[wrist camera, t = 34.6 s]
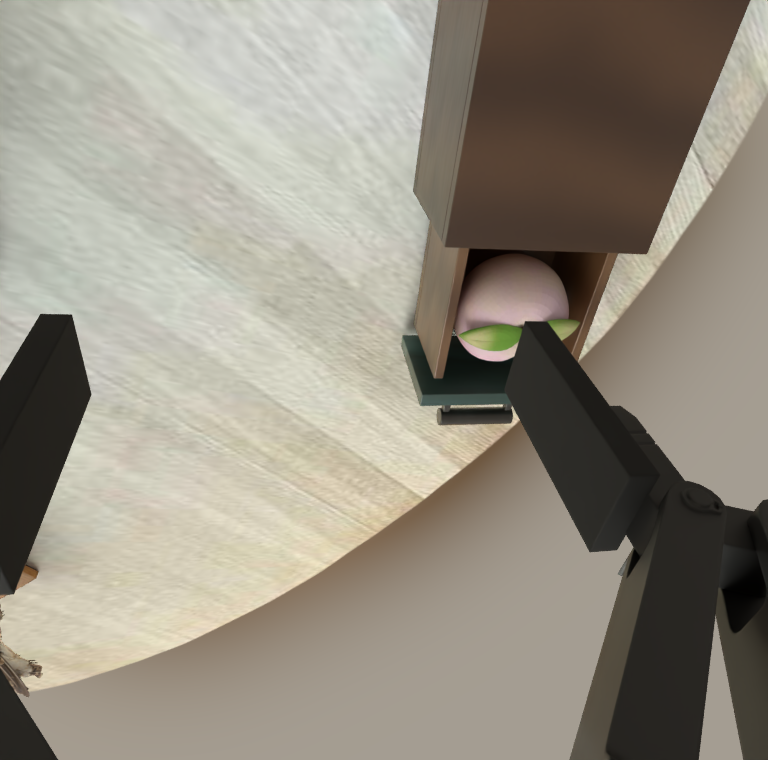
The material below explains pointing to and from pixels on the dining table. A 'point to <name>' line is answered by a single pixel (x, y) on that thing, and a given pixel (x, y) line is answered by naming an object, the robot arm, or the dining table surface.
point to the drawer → (447, 354)
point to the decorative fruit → (509, 305)
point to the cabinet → (564, 118)
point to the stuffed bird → (12, 662)
